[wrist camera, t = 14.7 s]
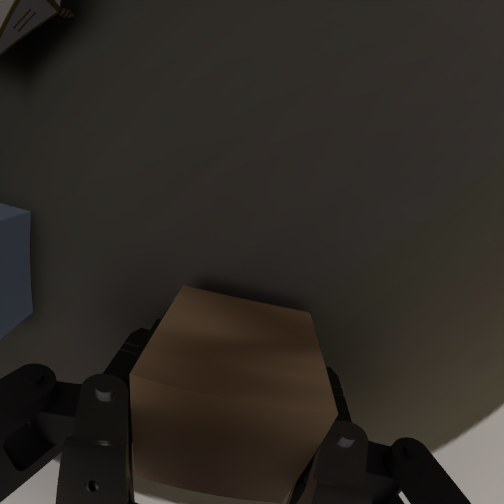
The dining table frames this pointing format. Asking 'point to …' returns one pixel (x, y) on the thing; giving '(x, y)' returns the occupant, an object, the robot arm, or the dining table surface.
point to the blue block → (14, 267)
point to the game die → (25, 18)
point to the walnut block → (229, 397)
